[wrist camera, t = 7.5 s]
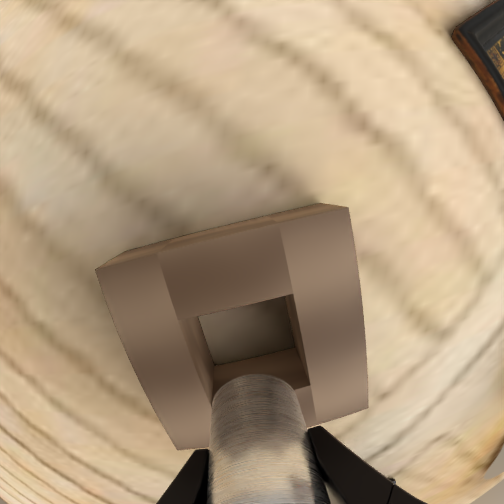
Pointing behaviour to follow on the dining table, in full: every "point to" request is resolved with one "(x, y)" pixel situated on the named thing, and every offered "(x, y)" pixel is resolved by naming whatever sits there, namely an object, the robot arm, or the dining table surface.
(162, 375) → the square hollow frame
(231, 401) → the cylinder
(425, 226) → the dining table surface
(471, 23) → the framed icon painting
